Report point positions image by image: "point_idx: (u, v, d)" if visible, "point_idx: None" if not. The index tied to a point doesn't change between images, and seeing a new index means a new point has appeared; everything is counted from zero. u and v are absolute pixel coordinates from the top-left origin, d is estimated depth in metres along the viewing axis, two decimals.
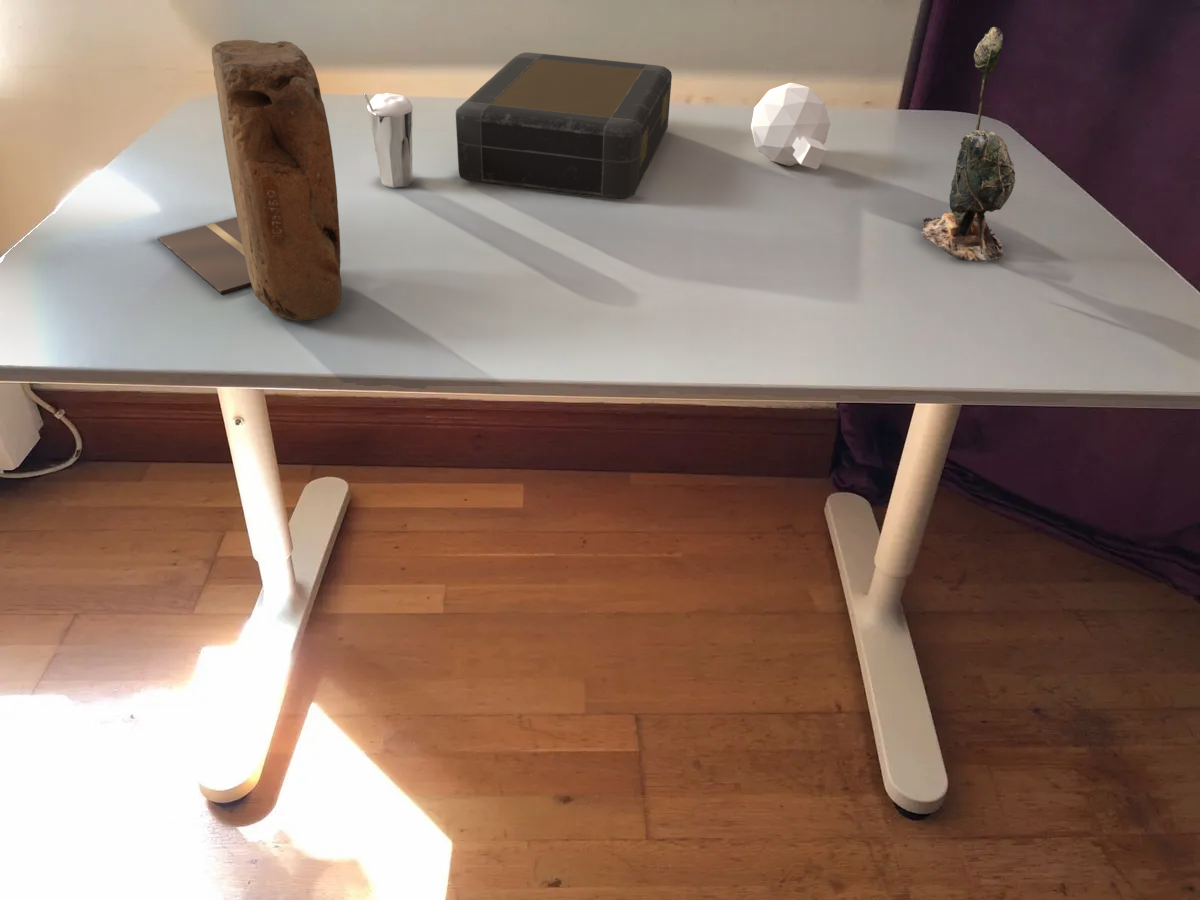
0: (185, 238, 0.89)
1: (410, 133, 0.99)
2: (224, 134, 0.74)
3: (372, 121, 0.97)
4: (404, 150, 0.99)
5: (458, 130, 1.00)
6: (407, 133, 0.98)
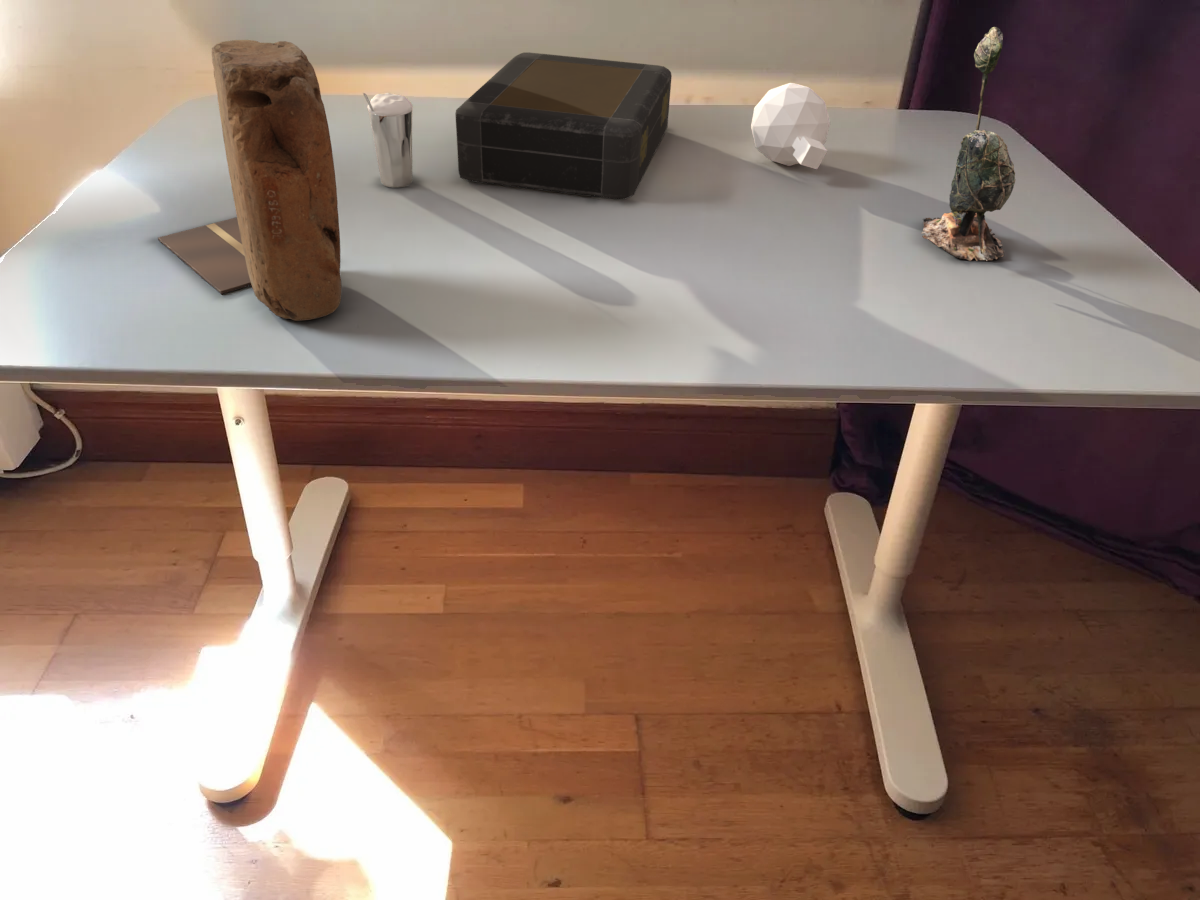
0: (185, 238, 0.89)
1: (410, 133, 0.99)
2: (224, 134, 0.74)
3: (372, 121, 0.97)
4: (404, 151, 0.99)
5: (458, 130, 1.00)
6: (407, 133, 0.98)
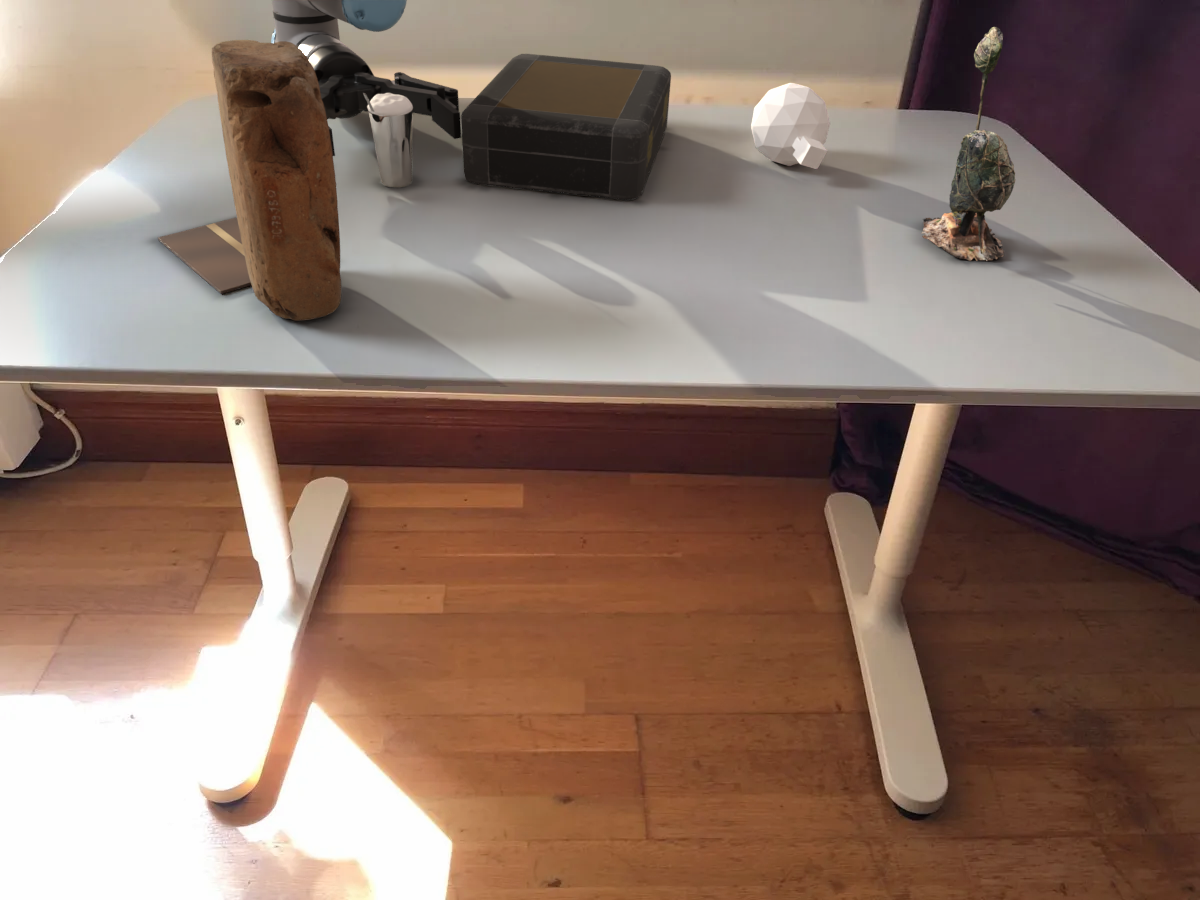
0: (185, 238, 0.89)
1: (410, 133, 0.99)
2: (224, 134, 0.74)
3: (372, 121, 0.97)
4: (404, 151, 0.99)
5: (464, 133, 1.00)
6: (407, 133, 0.98)
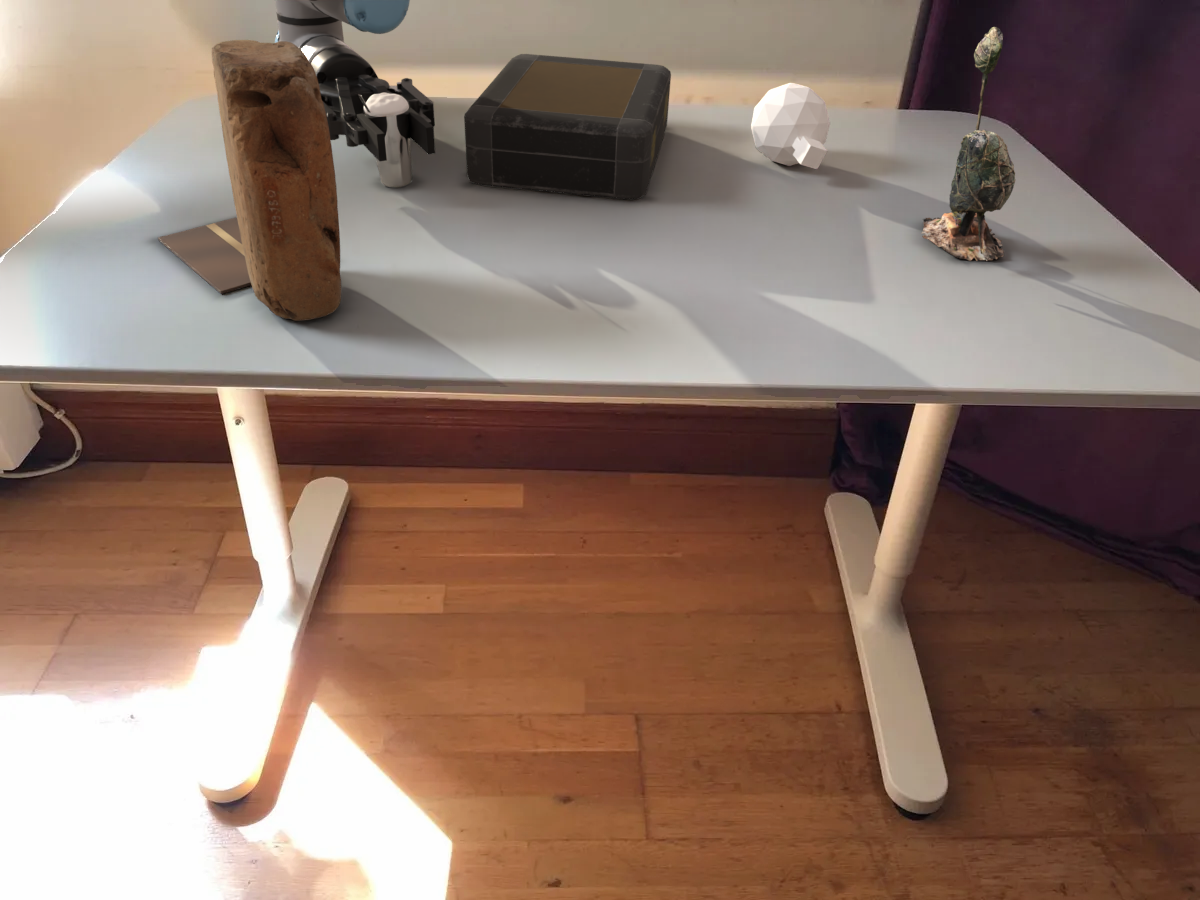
0: (185, 238, 0.89)
1: (407, 132, 0.99)
2: (224, 134, 0.74)
3: None
4: (402, 150, 0.99)
5: (468, 134, 0.99)
6: (404, 132, 0.98)
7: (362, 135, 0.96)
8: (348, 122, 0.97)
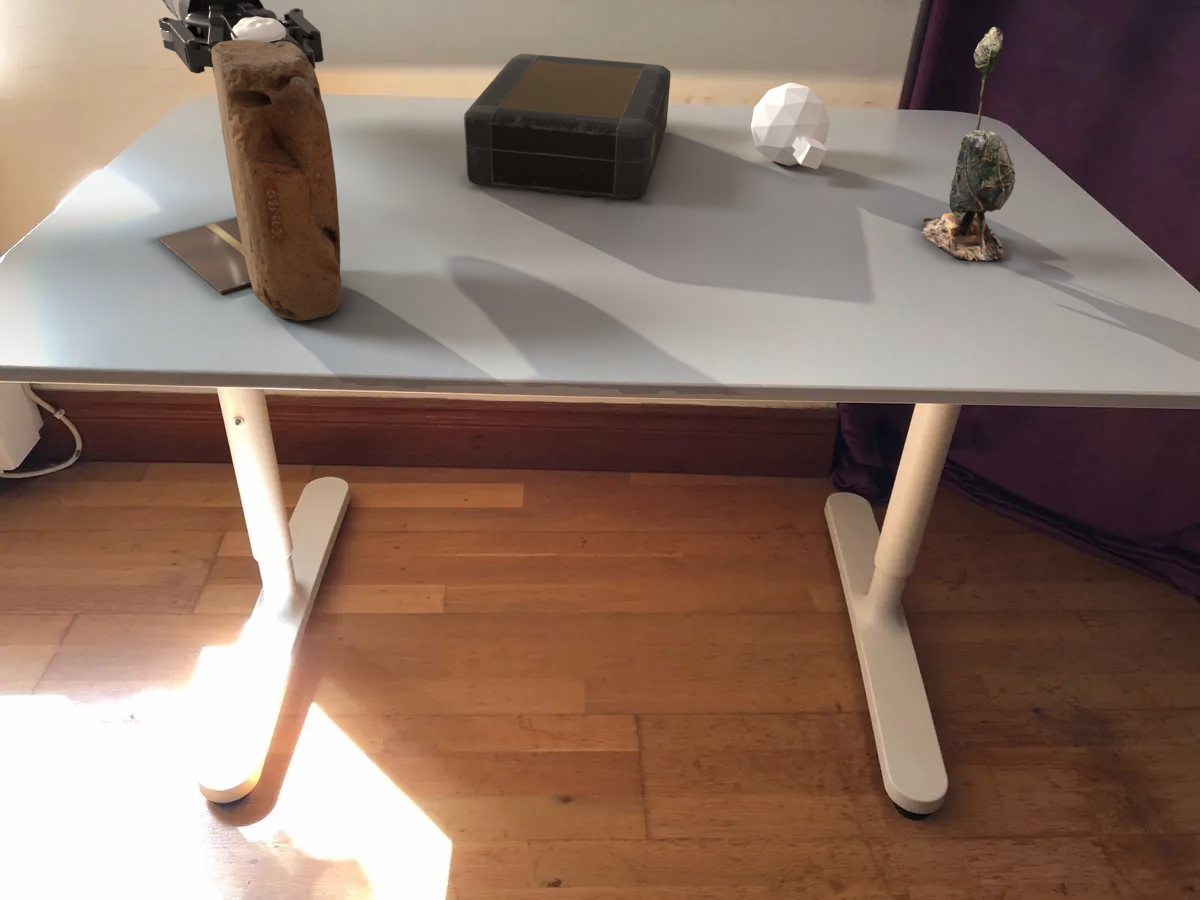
0: (185, 238, 0.89)
1: None
2: (224, 134, 0.74)
3: None
4: None
5: (467, 134, 0.99)
6: None
7: None
8: None
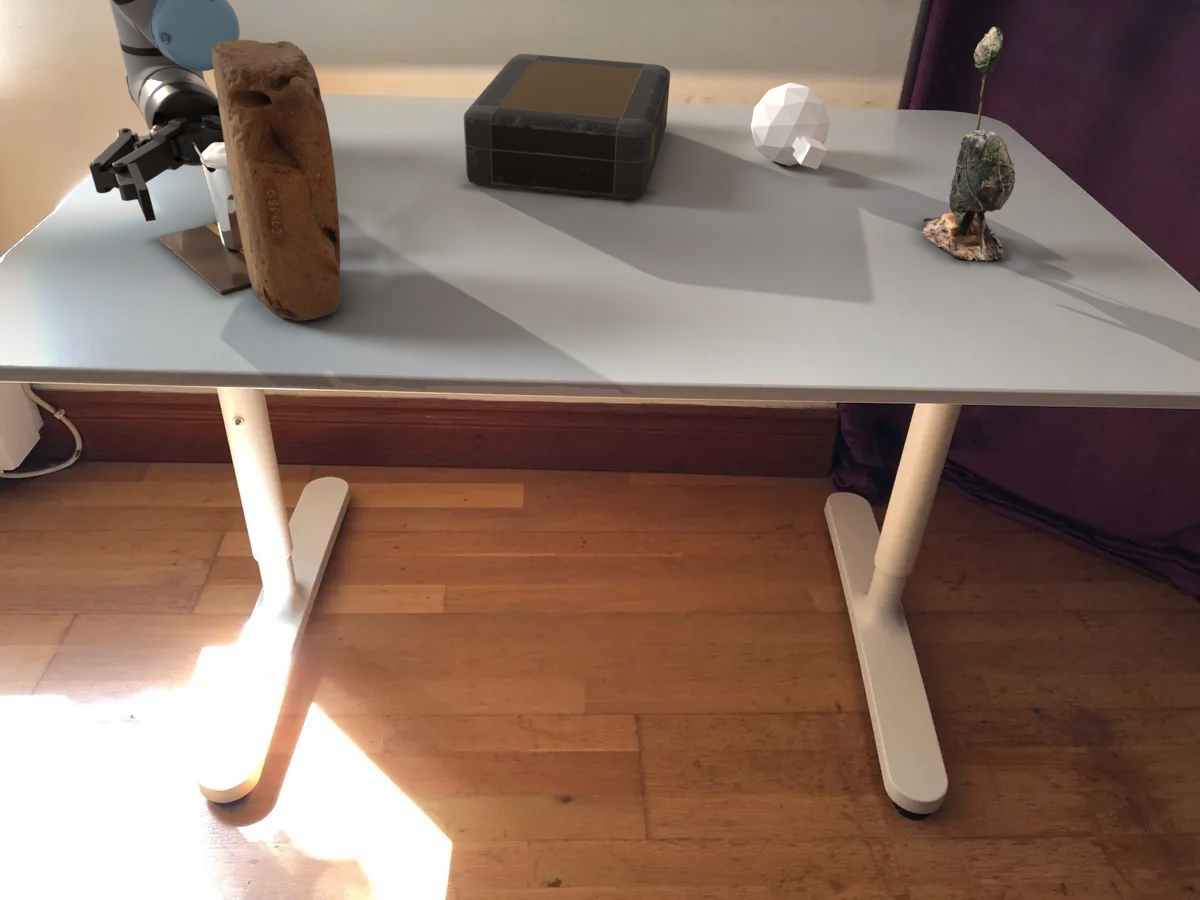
0: (185, 238, 0.89)
1: None
2: (224, 134, 0.74)
3: (205, 174, 0.83)
4: None
5: (467, 134, 0.99)
6: None
7: (129, 189, 0.81)
8: (117, 173, 0.83)
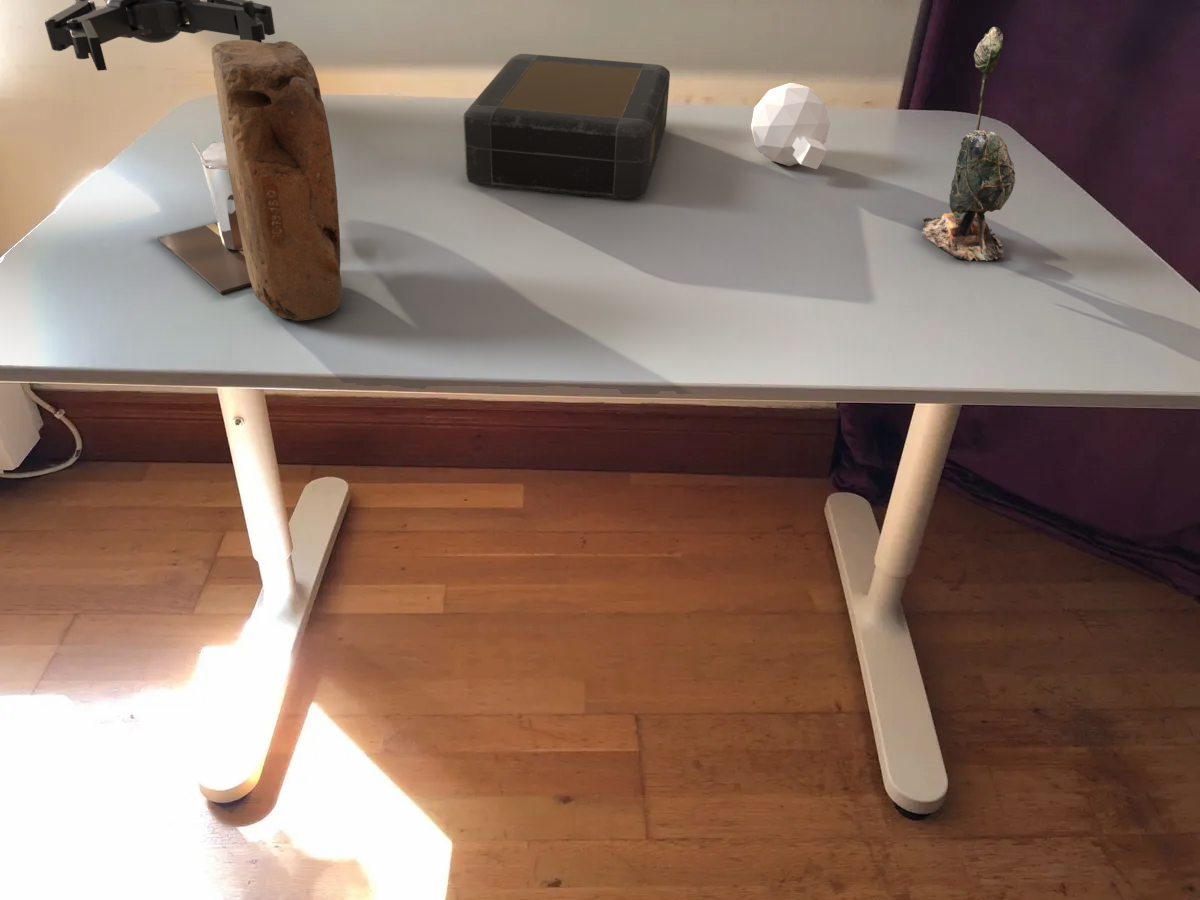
0: (185, 238, 0.89)
1: None
2: (224, 134, 0.74)
3: (206, 174, 0.83)
4: None
5: (467, 134, 0.99)
6: None
7: (82, 42, 0.85)
8: (71, 29, 0.86)
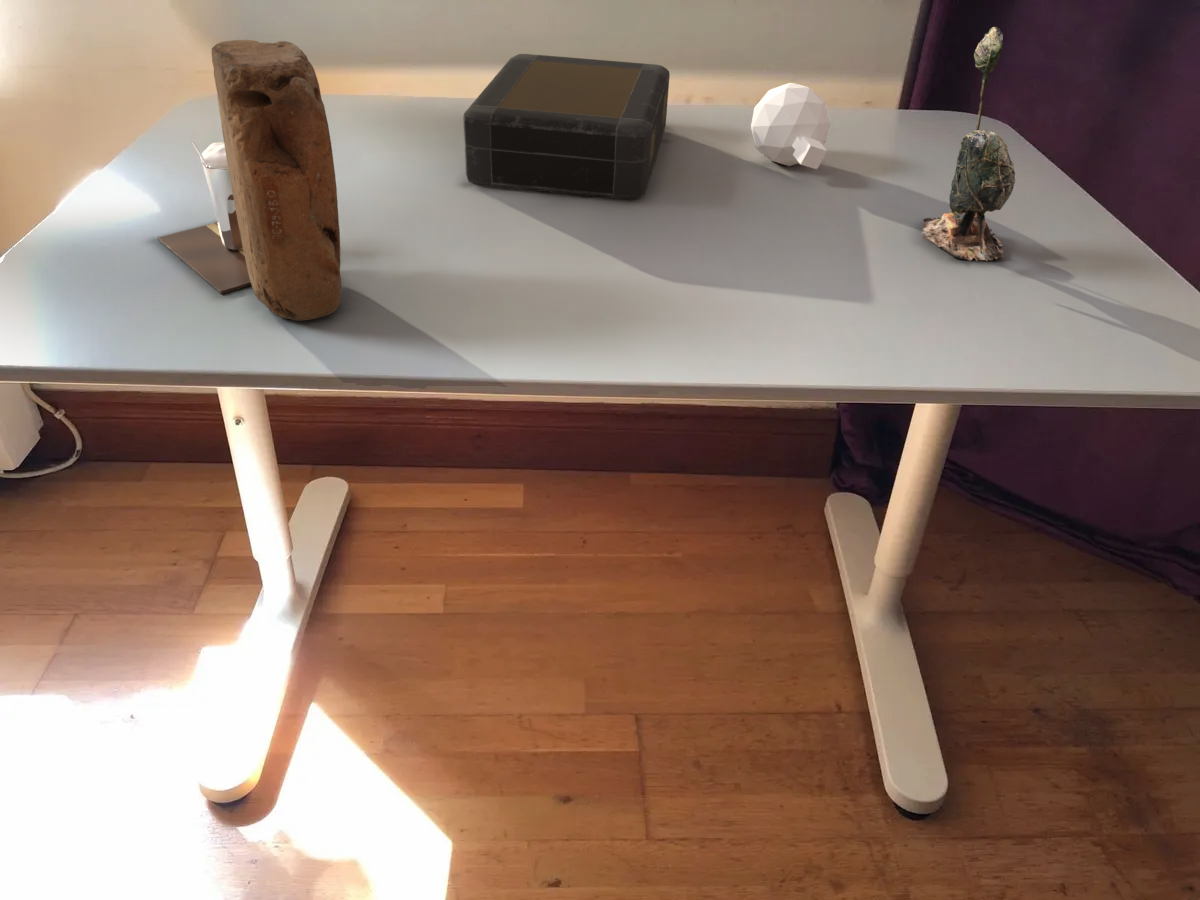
0: (185, 238, 0.89)
1: None
2: (224, 134, 0.74)
3: (206, 174, 0.83)
4: None
5: (467, 134, 0.99)
6: None
7: None
8: None
